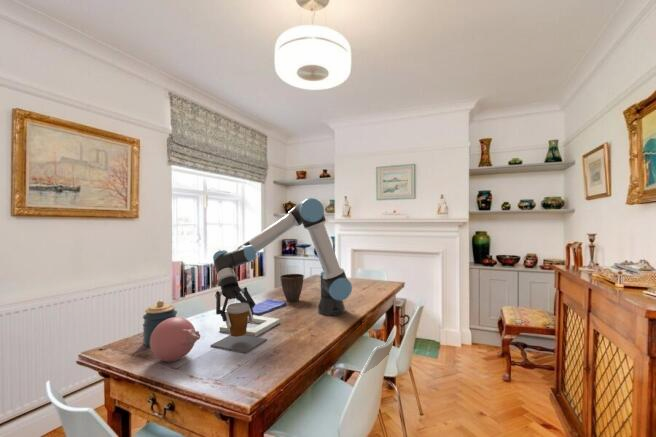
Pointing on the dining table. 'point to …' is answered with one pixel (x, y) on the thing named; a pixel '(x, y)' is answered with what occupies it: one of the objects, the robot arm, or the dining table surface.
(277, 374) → the dining table surface
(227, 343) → the rubber mat
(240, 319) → the disposable coffee cup
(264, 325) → the holder board
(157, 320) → the canister
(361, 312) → the dining table surface
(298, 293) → the plant pot
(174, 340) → the balloon
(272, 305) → the dish towel
